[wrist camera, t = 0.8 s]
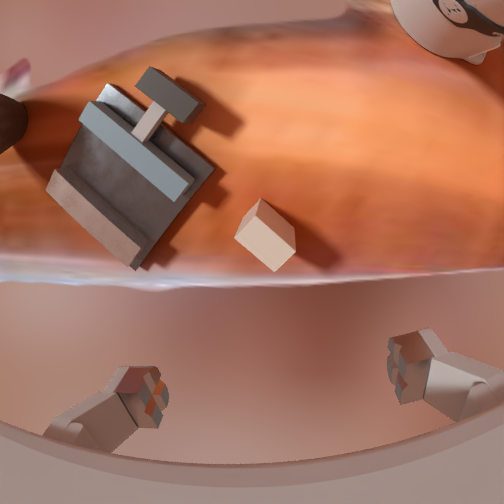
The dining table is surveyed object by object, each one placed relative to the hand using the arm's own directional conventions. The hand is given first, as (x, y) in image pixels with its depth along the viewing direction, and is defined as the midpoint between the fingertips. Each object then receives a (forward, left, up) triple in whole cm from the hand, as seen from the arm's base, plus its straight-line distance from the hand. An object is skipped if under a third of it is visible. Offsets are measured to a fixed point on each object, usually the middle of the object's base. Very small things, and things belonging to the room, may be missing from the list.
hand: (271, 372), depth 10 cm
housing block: (+5, +2, -32) cm, 32 cm away
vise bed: (+14, -18, -32) cm, 39 cm away
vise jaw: (+4, -18, -30) cm, 35 cm away
